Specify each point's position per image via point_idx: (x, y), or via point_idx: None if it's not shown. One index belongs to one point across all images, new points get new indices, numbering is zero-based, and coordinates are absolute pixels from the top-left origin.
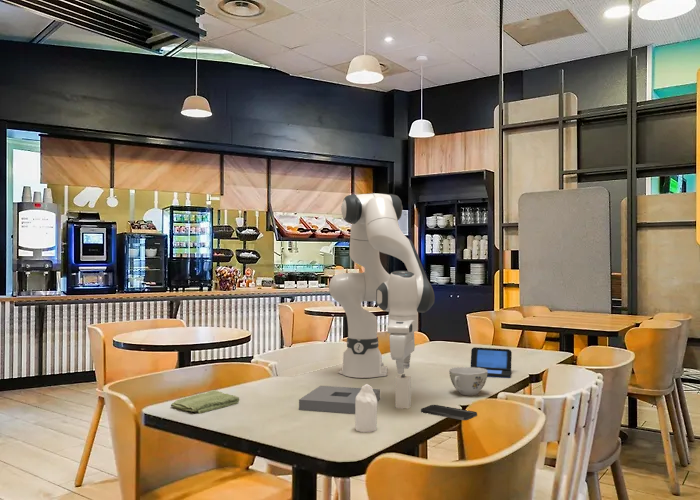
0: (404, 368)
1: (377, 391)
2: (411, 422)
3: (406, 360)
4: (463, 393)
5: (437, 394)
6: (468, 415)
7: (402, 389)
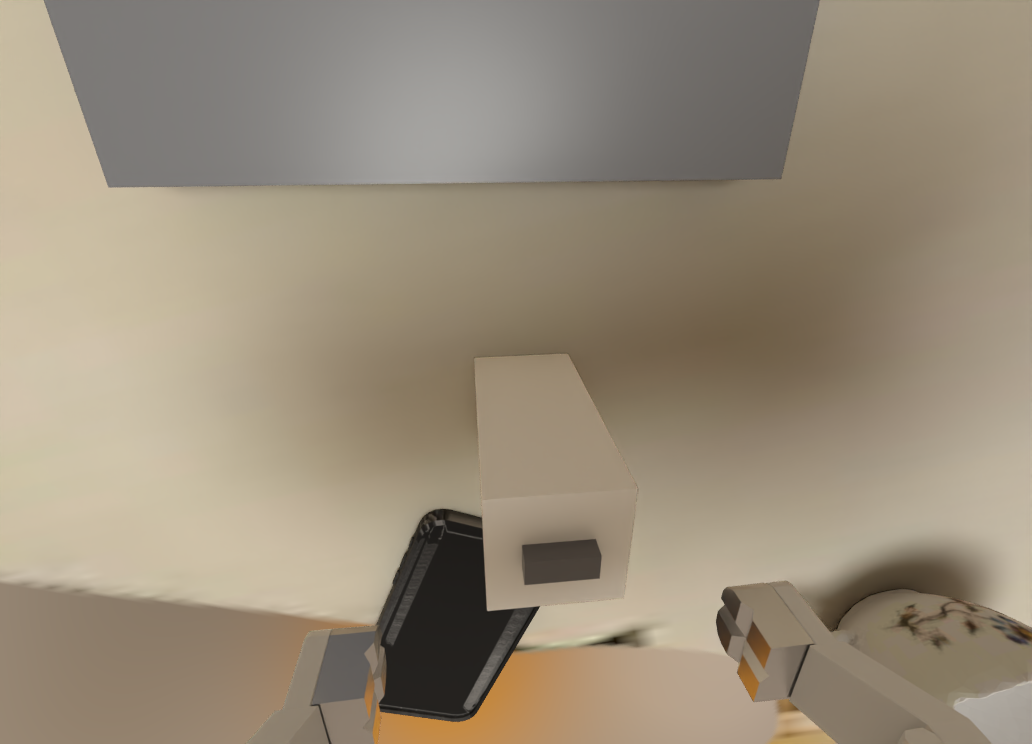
0: (724, 591)
1: (682, 177)
2: (169, 517)
3: (831, 696)
4: (851, 616)
5: (868, 504)
6: (406, 703)
7: (480, 483)
